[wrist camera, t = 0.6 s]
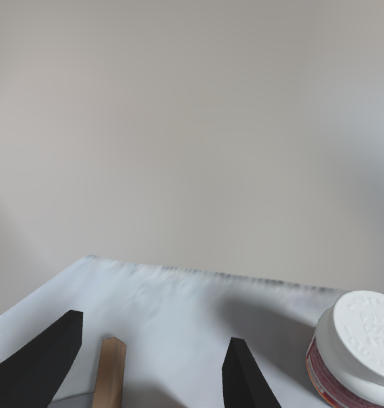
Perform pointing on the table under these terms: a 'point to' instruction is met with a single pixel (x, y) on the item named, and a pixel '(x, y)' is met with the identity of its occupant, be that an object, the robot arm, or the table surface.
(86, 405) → the slate mat
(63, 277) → the table surface
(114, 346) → the walnut board
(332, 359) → the pill bottle
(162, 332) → the table surface
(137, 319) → the table surface
